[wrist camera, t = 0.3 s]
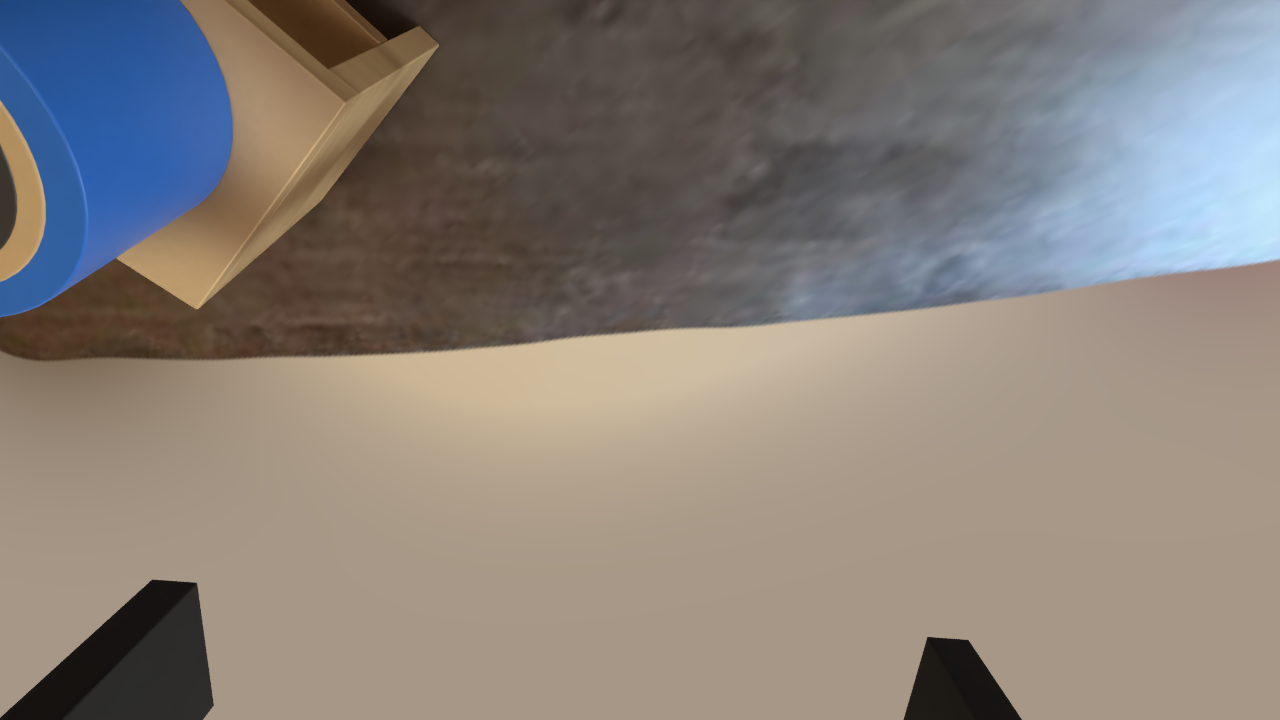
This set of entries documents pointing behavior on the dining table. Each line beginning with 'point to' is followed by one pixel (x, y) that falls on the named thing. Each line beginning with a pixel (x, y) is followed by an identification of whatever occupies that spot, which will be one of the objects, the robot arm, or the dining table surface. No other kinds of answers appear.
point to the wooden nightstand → (279, 129)
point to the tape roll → (100, 135)
